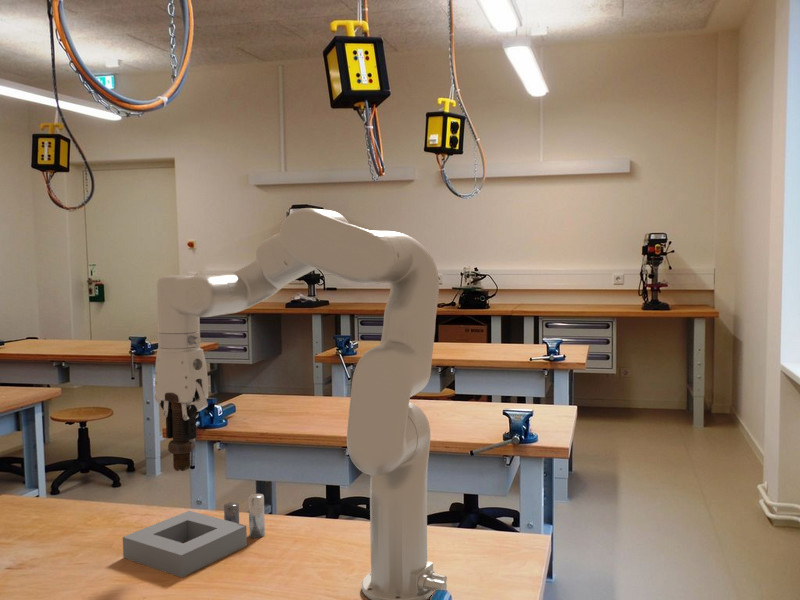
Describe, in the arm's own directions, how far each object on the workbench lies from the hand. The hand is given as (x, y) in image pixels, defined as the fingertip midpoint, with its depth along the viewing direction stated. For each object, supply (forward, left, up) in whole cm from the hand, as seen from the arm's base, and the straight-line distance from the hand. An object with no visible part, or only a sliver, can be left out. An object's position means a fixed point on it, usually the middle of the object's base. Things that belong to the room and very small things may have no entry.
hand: (181, 437), depth 137 cm
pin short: (+1, -13, -22) cm, 26 cm away
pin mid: (-6, -13, -22) cm, 26 cm away
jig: (0, 0, -22) cm, 22 cm away
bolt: (0, 0, -6) cm, 6 cm away
